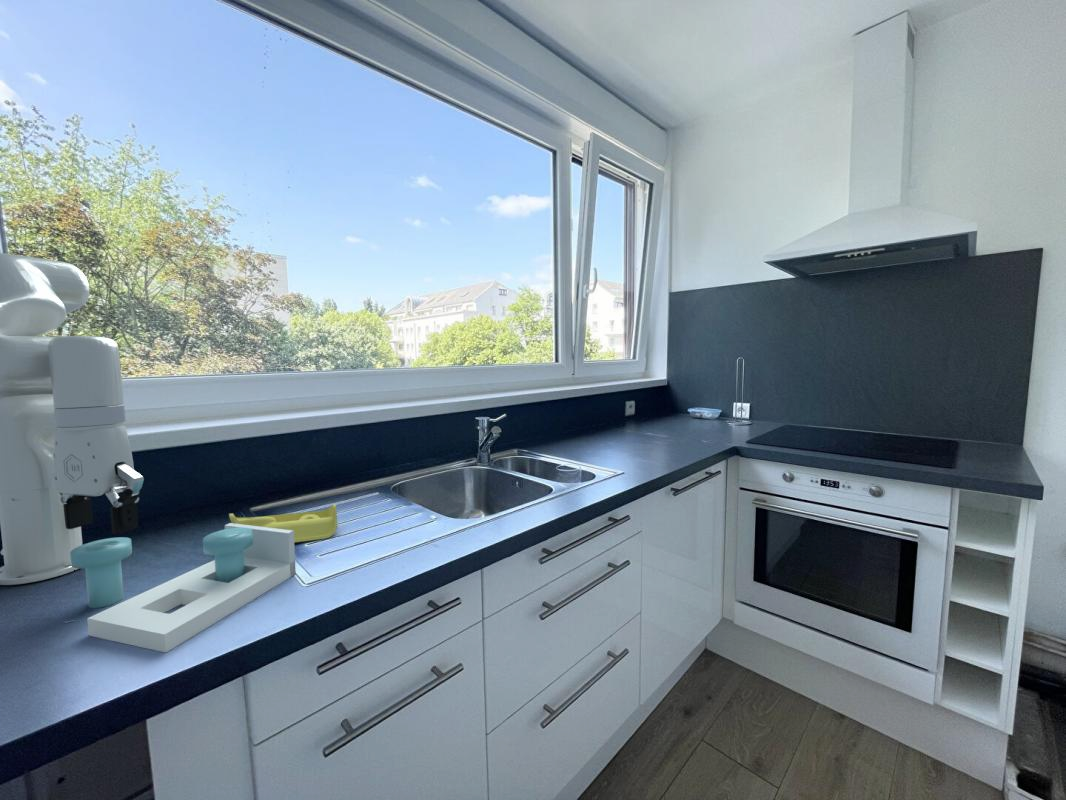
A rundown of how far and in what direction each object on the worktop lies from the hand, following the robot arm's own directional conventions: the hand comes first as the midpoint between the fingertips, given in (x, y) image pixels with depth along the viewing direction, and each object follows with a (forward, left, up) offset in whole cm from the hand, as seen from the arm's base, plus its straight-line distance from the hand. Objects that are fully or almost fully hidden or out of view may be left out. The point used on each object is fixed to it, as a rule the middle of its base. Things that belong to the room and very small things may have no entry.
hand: (102, 528), depth 68 cm
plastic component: (+6, +29, -12) cm, 32 cm away
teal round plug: (-1, 0, -12) cm, 12 cm away
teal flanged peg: (+14, +9, -12) cm, 21 cm away
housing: (+14, +4, -12) cm, 19 cm away
